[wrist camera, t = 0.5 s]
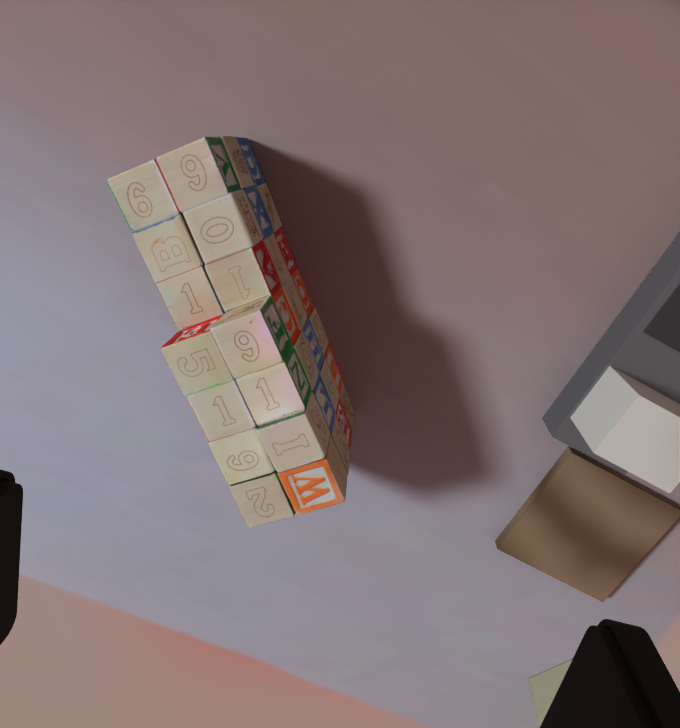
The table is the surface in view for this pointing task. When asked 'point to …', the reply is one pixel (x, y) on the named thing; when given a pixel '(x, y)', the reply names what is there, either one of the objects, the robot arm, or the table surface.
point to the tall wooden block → (546, 688)
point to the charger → (632, 428)
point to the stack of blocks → (242, 327)
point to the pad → (587, 525)
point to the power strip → (630, 350)
